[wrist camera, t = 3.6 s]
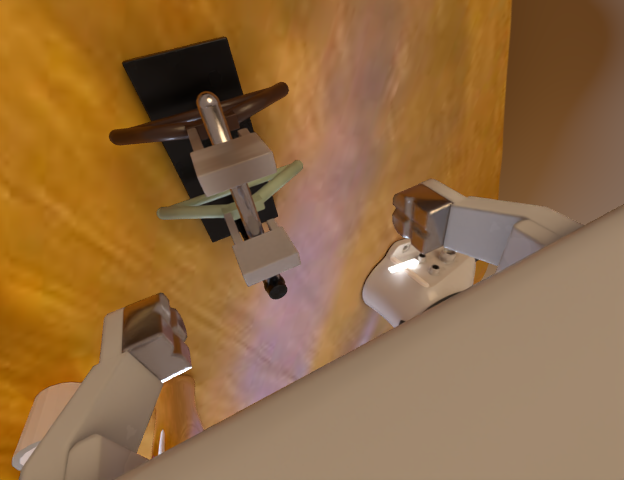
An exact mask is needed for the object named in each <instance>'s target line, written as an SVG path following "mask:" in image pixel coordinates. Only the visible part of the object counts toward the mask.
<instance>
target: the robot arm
mask: <svg viewBox="0 0 624 480" xmlns="http://www.w3.org/2000/svg"><path fill="white" fill-rule="evenodd" d="M393 205H394V206H395V207H396V209H395V211H394V213H393V214H392V218H393V224H394V227H395V229H396V231H397V232H398V233H399V234H400V235H401V236H402V237H404V238H406V239H403V240H399V241H397V242H395V243H394V244H393V245H392V246H391V248H390V249H389V251H388V253H387V254H386V256H385V258H384V259H383V260H382V261H381V262H380V263H379V264H378V265H377V266H376V267H375V268H374V270H373V271H372V272H371V274H370V275H369V277H368V278H367V280H366V282H365V285H364V288H363V293H362V296H363V300H364V302H365V303H366V304H367V305H368V306H370V307H371V308H373V309H374V310H375V311H377V312H378V313H379V314H380V315H381V316H383V317H384V318H385V319H386V320H387V321H388V322H389V323H390V324H391V325H392V326H393V327H394V328H393V329H391V330H389V331H387V332H386V333H384V334H382V335H380V336H378V337H376V338H374V339H373V340H371V341H369V342H367V343H365V344H363V345H361V346H360V347H358V348H356V349H354V350H352V351H350V352H349V353H347V354H345V355H343V356H341V357H339V358H337V359H336V360H334V361H332V362H330V363H328V364H326V365H324V366H323V367H321V368H319V369H317V370H315V371H313V372H311V373H310V374H308V375H306V376H304V377H302V378H300V379H298V380H297V381H295V382H293V383H291V384H289V385H287V386H285V387H284V388H282V389H280V390H278V391H276V392H274V393H272V394H271V395H269V396H267V397H265V398H263V399H261V400H260V401H258V402H256V403H254V404H252V405H250V406H248V407H247V408H245V409H243V410H241V411H239V412H237V413H235V414H234V415H232V416H230V417H228V418H226V419H224V420H222V421H221V422H219V423H217V424H215V425H213V426H211V427H209V428H208V429H206V430H204V431H202V432H200V433H198V434H196V435H195V436H193V437H191V438H189V439H187V440H185V441H183V442H182V443H180V444H178V445H176V446H174V447H172V448H170V449H169V450H167V451H165V452H163V453H161V454H159V455H157V456H156V457H154V458H152V459H150V460H148V459H146V458H145V457H143V456H141V455H139V454H137V451H138V448H139V445H140V443H141V440H142V438H143V435H144V433H145V430H146V428H147V425H148V423H149V420H150V417H151V415H152V412H153V410H154V407H155V405H156V402H157V400H158V397H159V394H160V392H161V389H162V387H163V382H165V381H167V380H169V379H171V378H172V377H174V376H176V375H178V374H180V373H182V372H184V371H186V370H188V369H190V368H192V365H191V358H190V352H189V348H188V347H187V345H186V344H185V343H184V342H185V340H186V338H187V333H186V328H185V325H184V322H183V320H182V318H181V316H180V314H179V313H178V311H177V310H176V309H174V308H170V305H169V300H168V298H167V297H166V296H165V295H164V293H158V294H156V295H153V296H151V297H148V298H145V299H143V300H140V301H138V302H135V303H133V304H130V305H128V306H126V307H124V308H121V309H118V310H116V311H113V312H111V313H108V314H107V315H106V316H105V318H104V324H103V333H102V343H101V352H100V361H99V364H97V365H95V366H93V368H92V369H91V370H90V372H89V373H88V375H87V376H86V378H85V379H84V380H83V382H82V383H81V385H80V386H79V387H78V389H77V390H76V392H75V393H74V395H73V396H72V397H71V399H70V400H69V402H68V403H67V404H66V406H65V407H64V409H63V410H62V412H61V413H60V414H59V416H58V417H57V419H56V420H55V422H54V423H53V424H52V426H51V427H50V429H49V430H48V431H47V433H46V434H45V436H44V437H43V439H42V440H41V441H40V443H39V444H38V446H37V447H36V448H35V450H34V451H33V453H32V454H31V456H30V457H29V458H28V460H27V461H26V463H25V464H24V466H23V467H22V469H21V473H20V477H19V480H624V204H623V205H621V206H619V207H617V208H616V209H614V210H612V211H610V212H608V213H606V214H604V215H603V216H601V217H599V218H597V219H595V220H593V221H592V222H590V223H588V224H586V225H583V224H581V223H578V222H576V221H574V220H572V219H570V218H568V217H566V216H564V215H562V214H560V213H558V212H556V211H554V210H552V209H550V208H548V207H544V206H536V205H529V204H522V203H515V202H508V201H501V200H494V199H487V198H480V197H473V196H469V197H465V196H463V195H461V194H460V193H458V192H456V191H454V190H453V189H451V188H449V187H447V186H446V185H444V184H442V183H440V182H439V181H437V180H435V179H428V180H426V181H424V182H422V183H419V184H418V185H416V186H413V187H411V188H409V189H406V190H404V191H401V192H399V193H397V194H395V195H394V197H393ZM478 260H482V261H485V262H488V263H491V264H494V265H497V266H498V267H497V270H496V272H495V274H493V275H491V276H489V277H488V278H486V279H484V280H482V281H480V282H478V283H476V284H475V285H473V281H474V274H475V267H476V264H475V262H476V261H478Z"/></svg>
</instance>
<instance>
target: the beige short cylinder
mask: <svg viewBox="0 0 624 480" xmlns="http://www.w3.org/2000/svg"><path fill="white" fill-rule="evenodd" d="M80 385H81V383H75V382H69V383H60V384H57V385H54V386H50V387H48V388H46V389H45V390H43V391H41V392H40V393H39V394H38V395H37V396H36V398H35V400H34V403H33V406H32V408H31V411H30V413H29V416H28V419H27V421H26V424H25V427H24V429H23V432H22V434H21V437H20V440H19V442H18V445H17V448H16V450H15V453H14V455H13V458H12V466H13V467H15V468H16V469H17V470H20V471H21V469H22V467H23V466H24V464H25V463H26V461H27V460H28V458H29V457H30V456H31V454H32V453H33V451H34V450H35V448H36V447H37V446H38V444H39V443H40V441H41V440H42V439H43V437H44V436H45V434H46V433H47V431H48V430H49V429H50V427H51V426H52V424H53V423H54V422H55V420H56V419H57V417H58V416H59V414H60V413H61V412H62V410H63V409H64V407H65V406H66V404H67V403H68V402H69V400H70V399H71V397H72V396H73V395H74V393H75V392H76V390H77V389H78V387H79V386H80Z"/></svg>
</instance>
